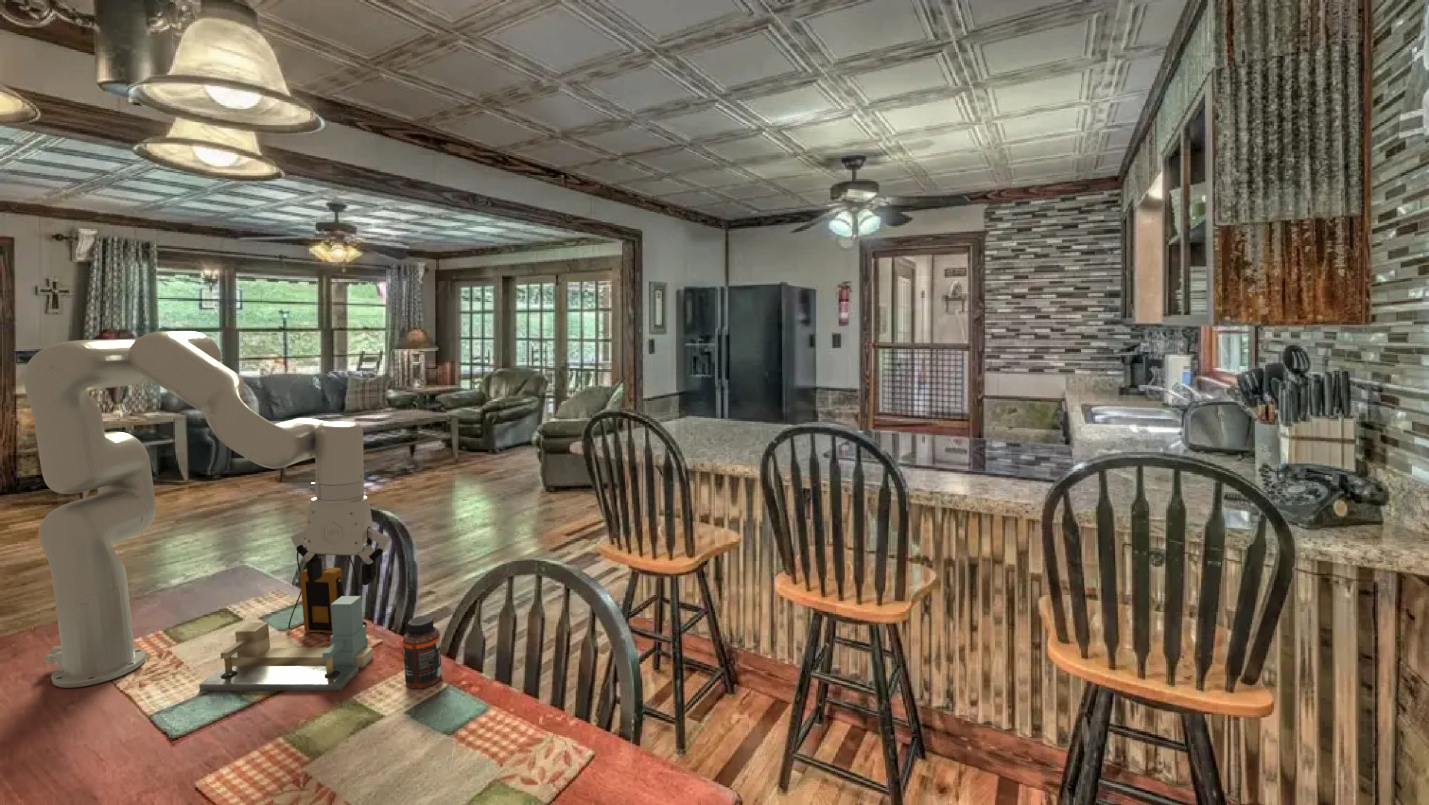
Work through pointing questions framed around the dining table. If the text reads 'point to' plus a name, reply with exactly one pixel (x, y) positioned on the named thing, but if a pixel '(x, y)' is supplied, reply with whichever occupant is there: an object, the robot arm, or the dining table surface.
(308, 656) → the trammel rail
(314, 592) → the multimeter
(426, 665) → the supplement bottle
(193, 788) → the dining table surface
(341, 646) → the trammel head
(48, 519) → the robot arm
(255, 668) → the flange plate
